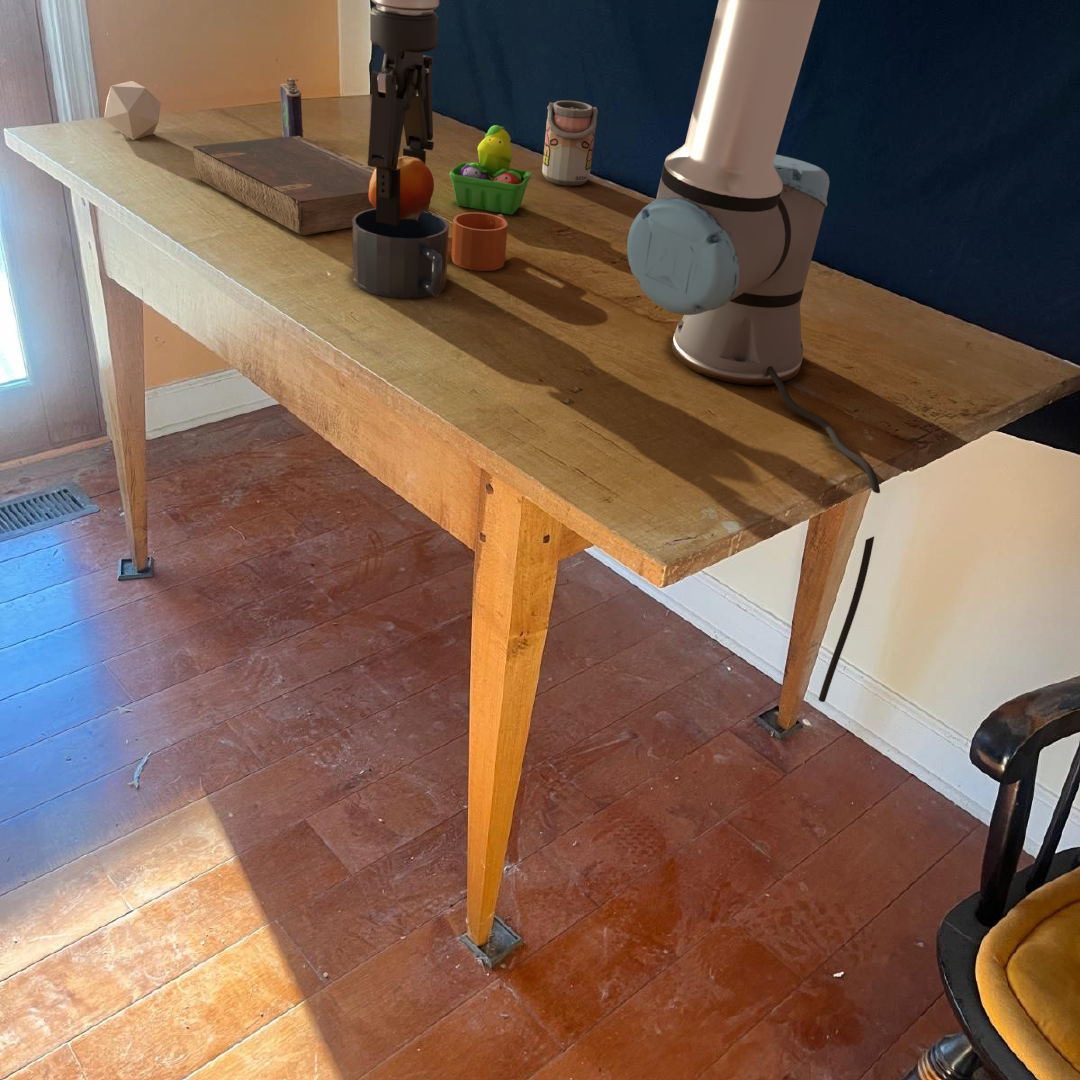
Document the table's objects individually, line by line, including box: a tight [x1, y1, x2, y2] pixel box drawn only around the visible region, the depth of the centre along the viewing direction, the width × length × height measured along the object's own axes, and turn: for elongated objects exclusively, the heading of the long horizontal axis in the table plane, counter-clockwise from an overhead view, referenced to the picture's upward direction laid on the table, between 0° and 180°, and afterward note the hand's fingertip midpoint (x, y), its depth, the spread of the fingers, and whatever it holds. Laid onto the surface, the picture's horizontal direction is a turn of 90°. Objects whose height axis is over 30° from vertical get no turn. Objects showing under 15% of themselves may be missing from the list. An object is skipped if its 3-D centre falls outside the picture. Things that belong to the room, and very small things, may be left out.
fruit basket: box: [449, 124, 532, 216], centre depth 158 cm, size 11×9×11 cm
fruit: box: [368, 155, 435, 221], centre depth 126 cm, size 8×8×8 cm
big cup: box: [351, 208, 450, 299], centre depth 129 cm, size 15×12×8 cm
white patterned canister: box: [541, 100, 599, 187], centre depth 172 cm, size 9×8×12 cm
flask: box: [279, 77, 304, 138], centre depth 175 cm, size 9×3×11 cm, turn 21°
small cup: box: [451, 211, 509, 272], centre depth 140 cm, size 10×7×6 cm
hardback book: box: [192, 136, 375, 236], centre depth 154 cm, size 29×19×5 cm, turn 44°
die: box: [103, 80, 162, 141], centre depth 171 cm, size 8×9×10 cm
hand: (400, 212), depth 127 cm, fingers closed on fruit, 8 cm apart
